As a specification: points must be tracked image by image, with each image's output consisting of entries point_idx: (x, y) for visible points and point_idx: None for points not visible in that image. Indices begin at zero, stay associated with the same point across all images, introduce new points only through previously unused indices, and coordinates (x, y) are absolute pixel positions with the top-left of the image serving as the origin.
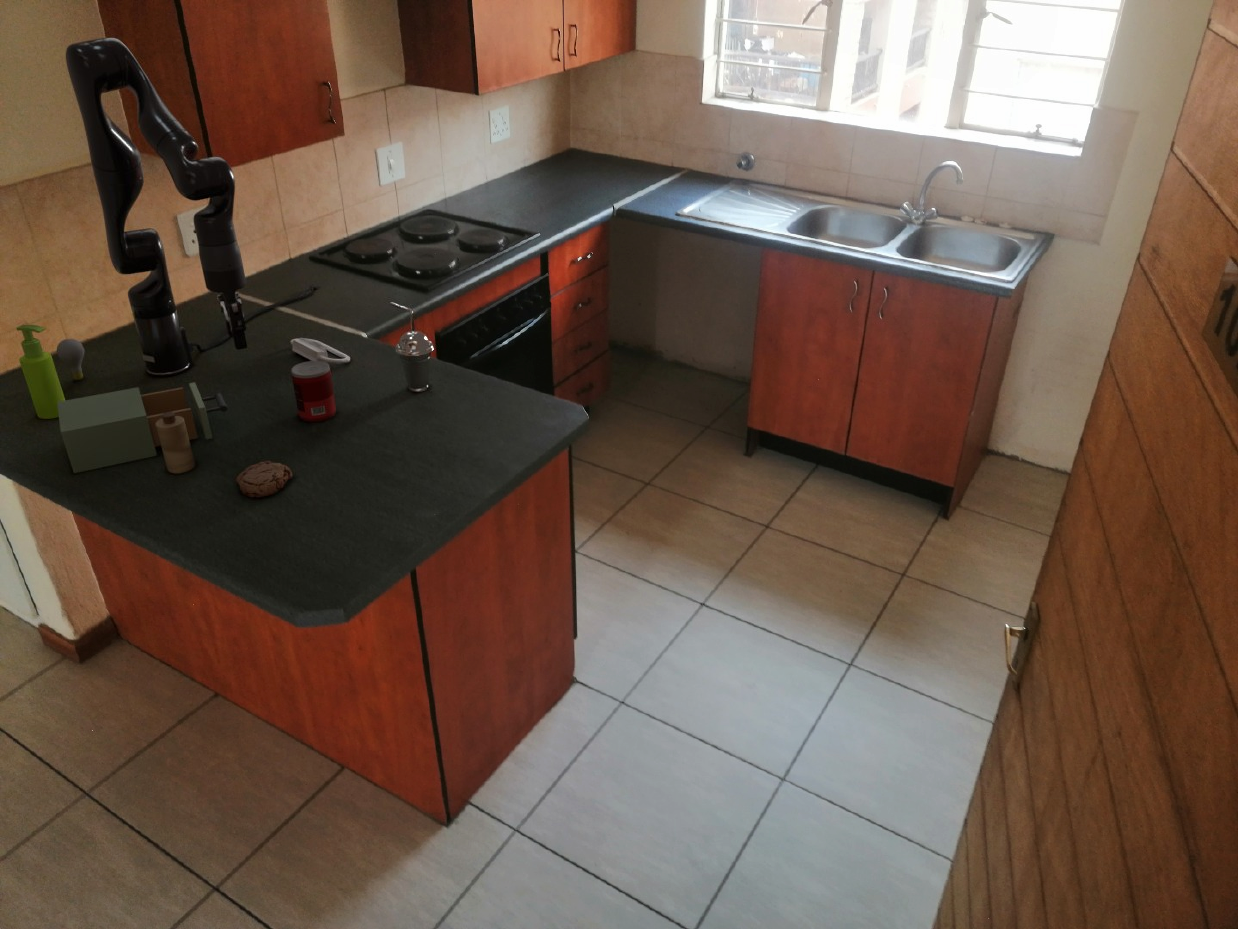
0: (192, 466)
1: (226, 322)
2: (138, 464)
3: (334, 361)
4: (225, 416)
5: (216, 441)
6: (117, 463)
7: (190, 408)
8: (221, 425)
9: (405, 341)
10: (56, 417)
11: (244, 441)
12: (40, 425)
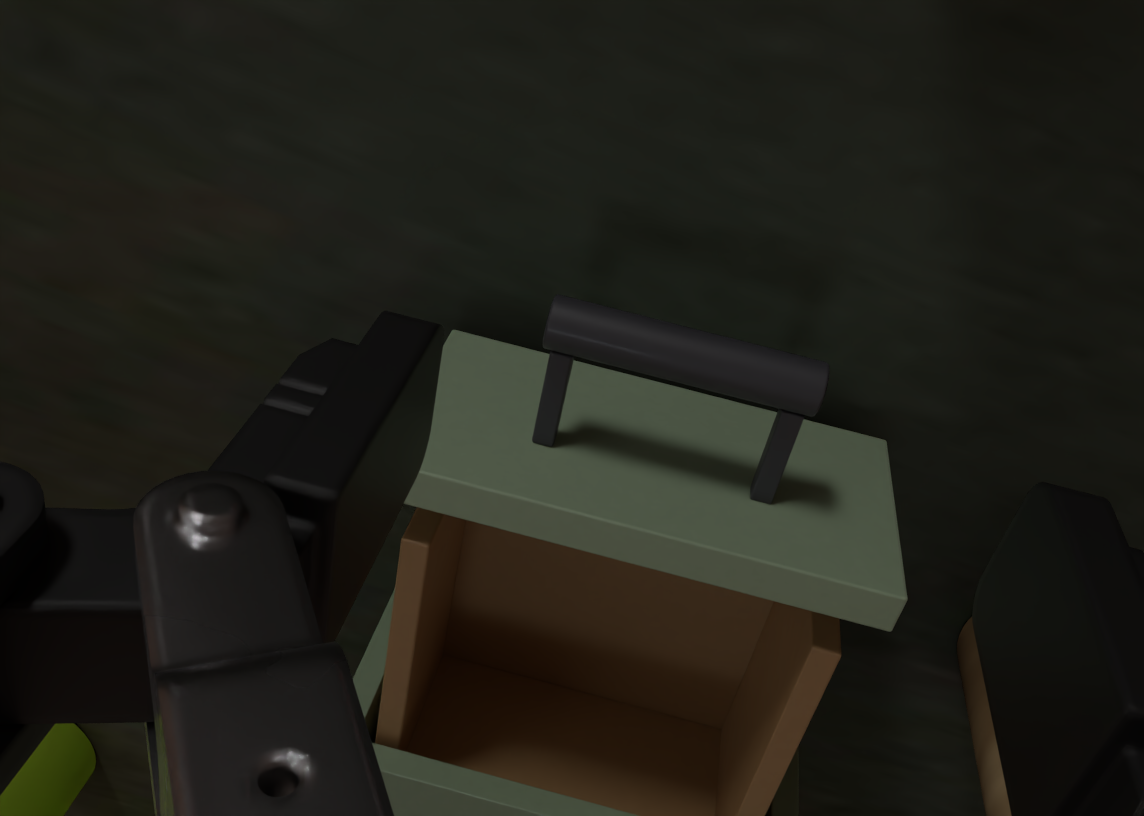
0: None
1: (338, 628)
2: (819, 739)
3: None
4: (558, 208)
5: (885, 403)
6: None
7: (823, 652)
8: (680, 286)
9: None
10: (93, 749)
11: (1044, 281)
12: (145, 802)
